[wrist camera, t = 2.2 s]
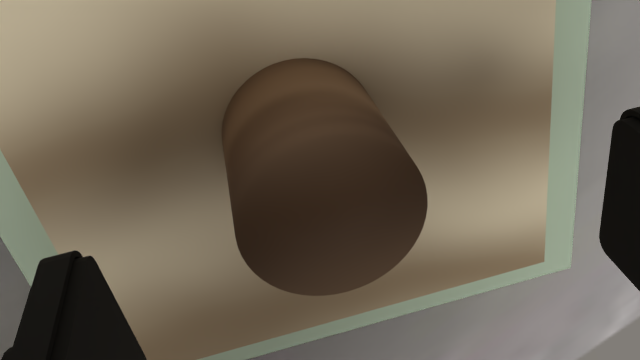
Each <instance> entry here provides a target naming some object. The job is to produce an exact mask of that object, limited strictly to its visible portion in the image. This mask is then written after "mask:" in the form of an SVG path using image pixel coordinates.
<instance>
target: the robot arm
mask: <svg viewBox="0 0 640 360" xmlns="http://www.w3.org/2000/svg"><path fill="white" fill-rule="evenodd" d="M599 238H600V243H601V246H602V248H603V250H604V252H605V253H606V255H607V256H608V257H609V258H610V259H611V260H612V261H613V262H614V263H615V265H616V266H617V267H618V268H619V269H620V270H621V271H622V272H623V273H624V274H625V276H626V277H627V278H628V279H629V280H630V281H631V282H632V283H633V284H634V285H635V287H636V288H637V289H638V290H639V291H640V107H637V108H633V109H629V110H626V111H625V112H623V114H622V115H621V118H620V120H618V121H617V122H615V124H614V126H613V130H612V138H611V146H610V154H609V162H608V170H607V178H606V186H605V194H604V202H603V210H602V217H601V225H600V233H599ZM1 360H147V359H146V357H145V354H144V352H143V351H142V349H141V347H140V345H139V343H138V341H137V339H136V337H135V335H134V333H133V331H132V329H131V328H130V326H129V324H128V322H127V320H126V318H125V316H124V314H123V312H122V310H121V308H120V306H119V305H118V303H117V301H116V299H115V297H114V295H113V293H112V291H111V289H110V287H109V285H108V283H107V282H106V280H105V278H104V276H103V274H102V272H101V270H100V268H99V266H98V264H97V262H96V261H95V259H94V258H93V257H92V256H86V257H83V256H82V254H81V253H80V252H78V251H75V250H74V251H70V252H67V253H63V254H59V255H55V256H51V257H47V258H43V259H42V260H40V262H39V264H38V267H37V270H36V273H35V276H34V280H33V283H32V286H31V289H30V293H29V296H28V299H27V302H26V306H25V309H24V312H23V315H22V319H21V322H20V325H19V328H18V332H17V335H16V338H15V341H14V345H13V347H12V348H9V349H8V350H7V351H6V352H5V353H4V355H3V357H2V359H1Z"/></svg>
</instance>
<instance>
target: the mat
mask: <svg viewBox="0 0 640 360" xmlns="http://www.w3.org/2000/svg"><path fill="white" fill-rule="evenodd" d="M591 2H592V0H556V13H555V35H554V58H553V80H552V102H551V125H550V147H549V169H548V191H547V214H546V236H545V258H544V262H542V263H538V264H535V265H531V266H528V267H524V268H521V269H517V270H513V271H510V272H506V273H503V274H499V275H496V276H492V277H489V278H485V279H482V280H478V281H474V282H471V283H467V284H464V285H460V286H457V287H453V288H450V289H446V290H442V291H439V292H435V293H432V294H428V295H425V296H421V297H418V298H414V299H410V300H407V301H403V302H400V303H396V304H393V305H389V306H386V307H382V308H379V309H375V310H371V311H368V312H364V313H361V314H357V315H354V316H350V317H347V318H343V319H339V320H336V321H332V322H329V323H325V324H322V325H318V326H315V327H311V328H308V329H304V330H300V331H297V332H293V333H290V334H286V335H283V336H279V337H276V338H272V339H268V340H265V341H261V342H258V343H254V344H251V345H247V346H244V347H240V348H236V349H233V350H229V351H226V352H222V353H219V354H215V355H212V356H208V357H205V358H201V359H197V360H247V359H250V358H254V357H258V356H261V355H265V354H268V353H272V352H275V351H279V350H282V349H286V348H289V347H293V346H296V345H300V344H303V343H307V342H310V341H314V340H318V339H321V338H325V337H328V336H332V335H335V334H339V333H342V332H346V331H349V330H353V329H356V328H360V327H363V326H367V325H370V324H374V323H378V322H381V321H385V320H388V319H392V318H395V317H399V316H402V315H406V314H409V313H413V312H416V311H420V310H423V309H427V308H430V307H434V306H438V305H441V304H445V303H448V302H452V301H455V300H459V299H462V298H466V297H469V296H473V295H476V294H480V293H483V292H487V291H490V290H494V289H498V288H501V287H505V286H508V285H512V284H515V283H519V282H522V281H526V280H529V279H533V278H536V277H540V276H543V275H547V274H550V273H554V272H558V271H561V270H565V269H568V268H571V258H572V245H573V232H574V219H575V207H576V194H577V181H578V168H579V155H580V143H581V130H582V117H583V104H584V91H585V78H586V66H587V53H588V40H589V27H590V14H591ZM0 237H1V239H2V240H3V242H4V244H5V245H6V247H7V249H8V250H9V252H10V253H11V255H12V257H13V258H14V260H15V262H16V263H17V265H18V267H19V268H20V270H21V272H22V273H23V275H24V276H25V278H26V280H27V281H28V283H29V285H30V286H32V283H33V280H34V276H35V273H36V270H37V267H38V264H39V262H40V260H42V259H43V258H47V257H51V256H55V255H58V253H57V251H56V249H55V248H54V246H53V244H52V242H51V240H50V239H49V237H48V235H47V233H46V231H45V229H44V228H43V226H42V224H41V222H40V220H39V219H38V217H37V215H36V213H35V211H34V210H33V208H32V206H31V204H30V202H29V200H28V199H27V197H26V195H25V193H24V191H23V190H22V188H21V186H20V184H19V182H18V181H17V179H16V177H15V175H14V173H13V171H12V170H11V168H10V166H9V164H8V162H7V161H6V159H5V157H4V155H3V153H2V152H1V150H0Z"/></svg>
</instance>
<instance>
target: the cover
mask: <svg viewBox="0 0 640 360" xmlns="http://www.w3.org/2000/svg"><path fill="white" fill-rule="evenodd" d="M555 13H556V0H0V150H1V152H2V153H3V155H4V157H5V159H6V161H7V162H8V164H9V166H10V168H11V170H12V171H13V173H14V175H15V177H16V179H17V181H18V182H19V184H20V186H21V188H22V190H23V191H24V193H25V195H26V197H27V199H28V200H29V202H30V204H31V206H32V208H33V210H34V211H35V213H36V215H37V217H38V219H39V220H40V222H41V224H42V226H43V228H44V229H45V231H46V233H47V235H48V237H49V239H50V240H51V242H52V244H53V246H54V248H55V249H56V251H57V253H58V255H59V254H63V253H67V252H70V251H74V250H75V251H78V252H80V253H81V254H82V256H83V257H86V256H92V257H93V258H94V259H95V261H96V262H97V264H98V266H99V268H100V270H101V272H102V274H103V276H104V278H105V280H106V282H107V283H108V285H109V287H110V289H111V291H112V293H113V295H114V297H115V299H116V301H117V303H118V305H119V306H120V308H121V310H122V312H123V314H124V316H125V318H126V320H127V322H128V324H129V326H130V328H131V329H132V331H133V333H134V335H135V337H136V339H137V341H138V343H139V345H140V347H141V349H142V351H143V352H144V354H145V357H146V359H147V360H197V359H201V358H205V357H208V356H212V355H215V354H219V353H222V352H226V351H229V350H233V349H236V348H240V347H244V346H247V345H251V344H254V343H258V342H261V341H265V340H268V339H272V338H276V337H279V336H283V335H286V334H290V333H293V332H297V331H300V330H304V329H308V328H311V327H315V326H318V325H322V324H325V323H329V322H332V321H336V320H339V319H343V318H347V317H350V316H354V315H357V314H361V313H364V312H368V311H371V310H375V309H379V308H382V307H386V306H389V305H393V304H396V303H400V302H403V301H407V300H410V299H414V298H418V297H421V296H425V295H428V294H432V293H435V292H439V291H442V290H446V289H450V288H453V287H457V286H460V285H464V284H467V283H471V282H474V281H478V280H482V279H485V278H489V277H492V276H496V275H499V274H503V273H506V272H510V271H513V270H517V269H521V268H524V267H528V266H531V265H535V264H538V263H542V262H544V258H545V236H546V214H547V191H548V169H549V147H550V125H551V102H552V80H553V58H554V35H555Z"/></svg>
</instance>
